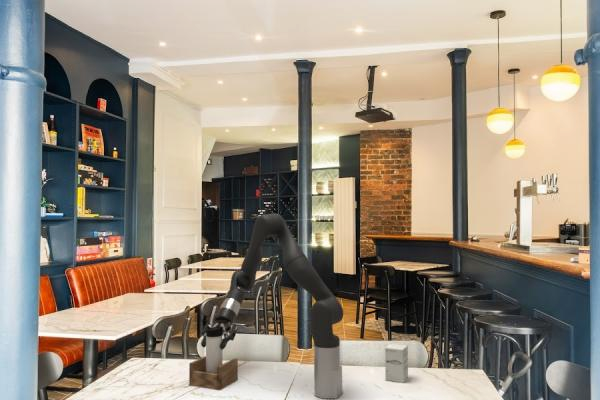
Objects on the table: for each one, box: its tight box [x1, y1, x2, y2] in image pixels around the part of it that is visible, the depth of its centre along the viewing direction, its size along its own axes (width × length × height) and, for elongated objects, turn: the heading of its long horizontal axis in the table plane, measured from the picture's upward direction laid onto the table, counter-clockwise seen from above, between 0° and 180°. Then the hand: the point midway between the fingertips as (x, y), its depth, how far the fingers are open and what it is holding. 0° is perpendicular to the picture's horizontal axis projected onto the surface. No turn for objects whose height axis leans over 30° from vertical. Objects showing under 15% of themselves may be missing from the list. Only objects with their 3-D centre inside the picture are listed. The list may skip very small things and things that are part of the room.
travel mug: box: [205, 327, 223, 374], centre depth 178 cm, size 6×7×20 cm
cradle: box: [188, 355, 239, 391], centre depth 177 cm, size 14×12×8 cm
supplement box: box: [384, 343, 409, 384], centre depth 179 cm, size 7×7×13 cm
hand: (211, 347), depth 177 cm, fingers open, 8 cm apart
